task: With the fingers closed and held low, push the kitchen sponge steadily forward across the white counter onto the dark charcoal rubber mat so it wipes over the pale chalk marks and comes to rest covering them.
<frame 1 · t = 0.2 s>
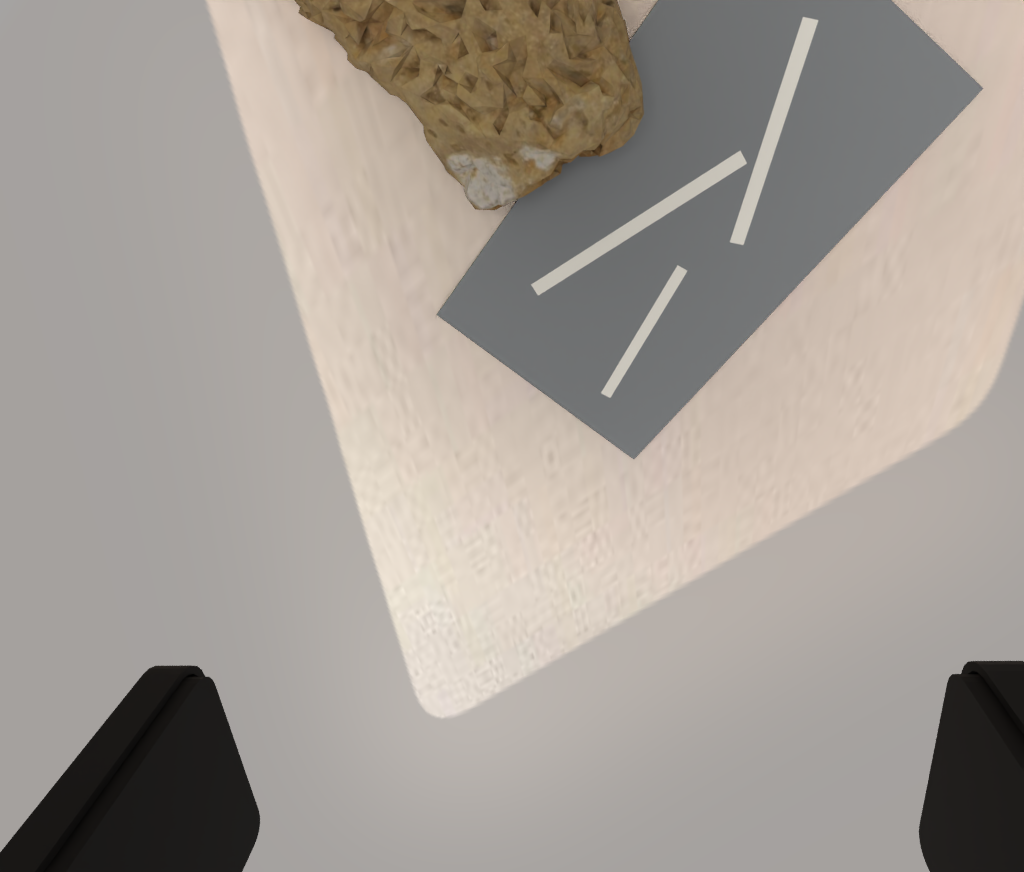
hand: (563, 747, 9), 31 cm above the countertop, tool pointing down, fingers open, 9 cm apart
mat: (682, 212, 35), on the countertop
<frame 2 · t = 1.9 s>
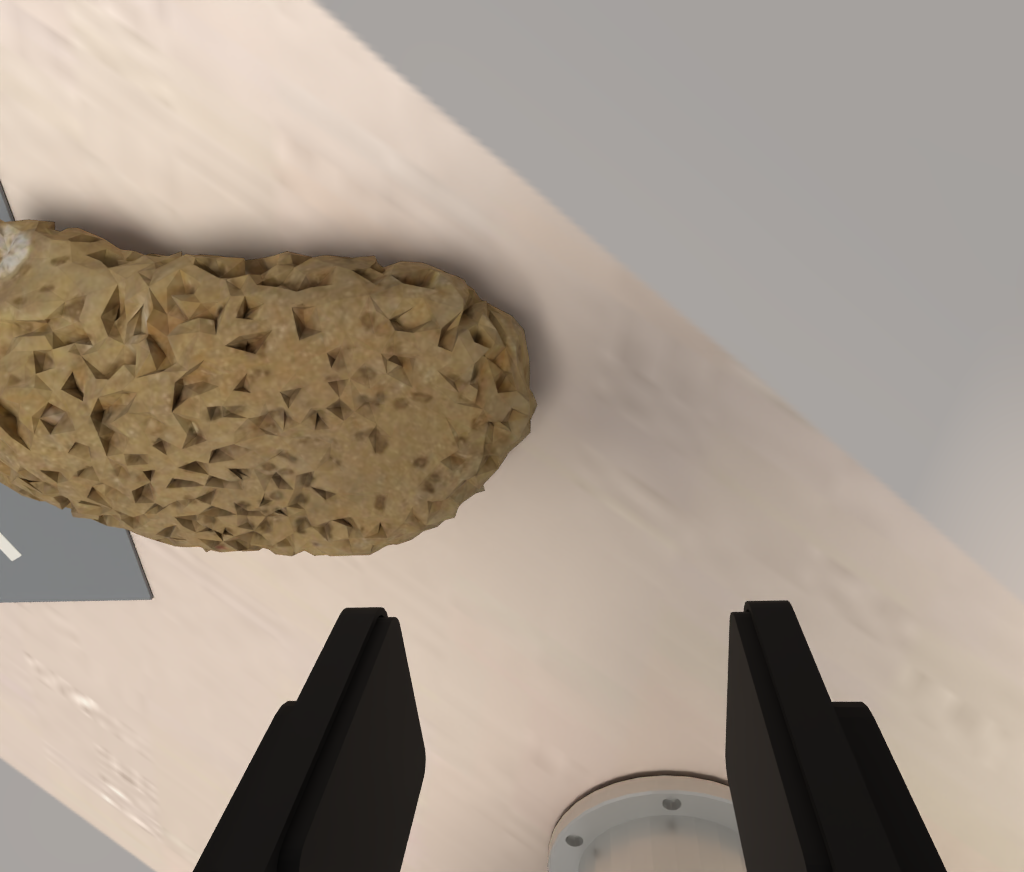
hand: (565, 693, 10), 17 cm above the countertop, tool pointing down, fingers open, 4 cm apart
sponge: (271, 360, 27), on the countertop, touching mat
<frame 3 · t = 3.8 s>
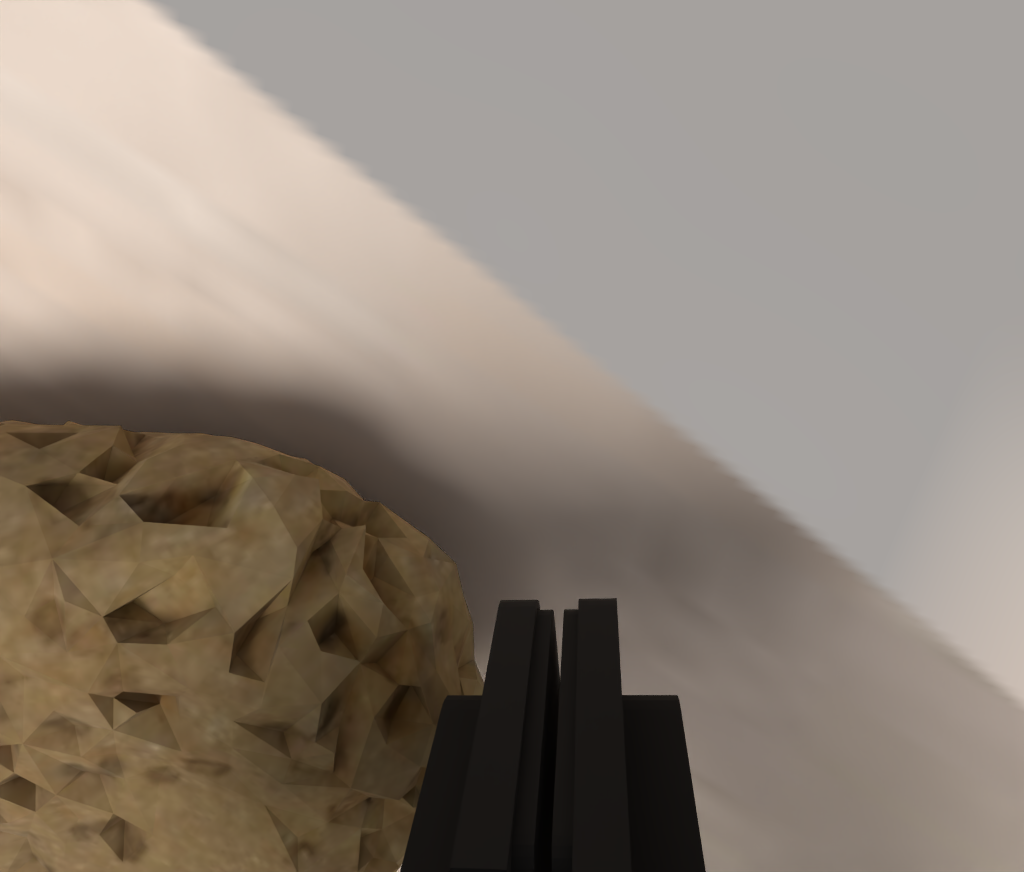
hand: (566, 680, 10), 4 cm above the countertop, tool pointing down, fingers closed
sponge: (20, 557, 15), on the countertop, touching gripper, mat
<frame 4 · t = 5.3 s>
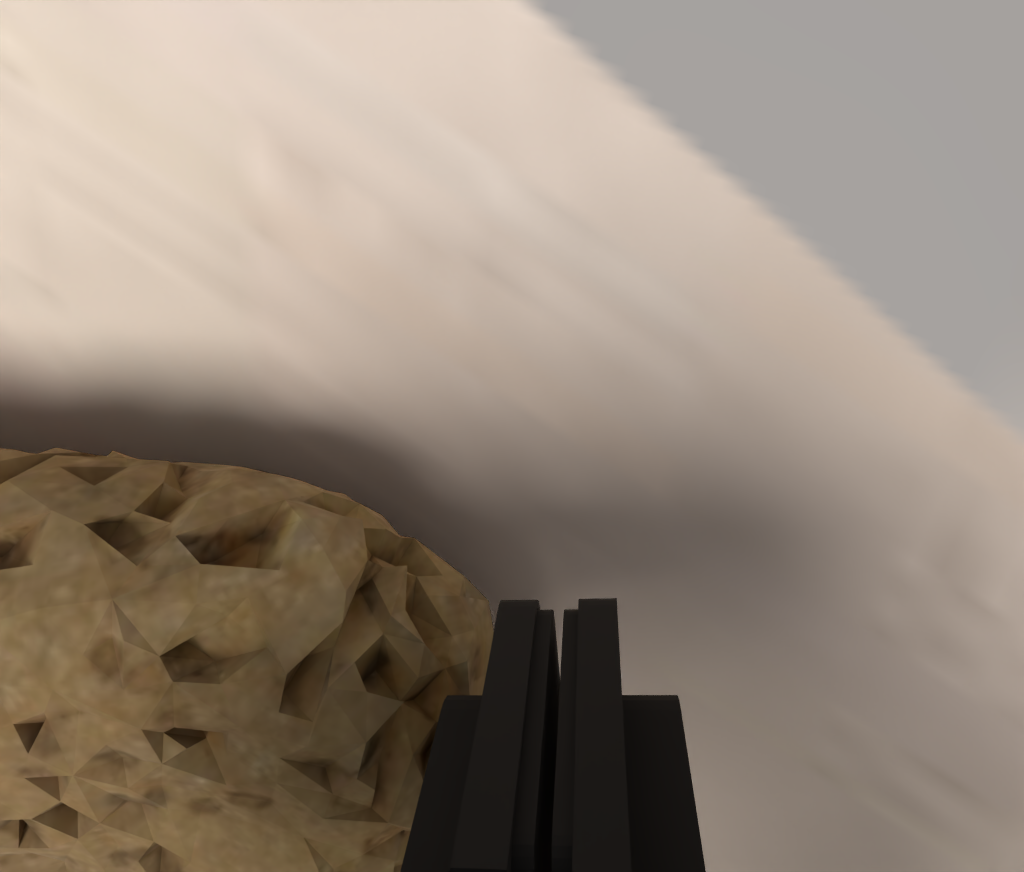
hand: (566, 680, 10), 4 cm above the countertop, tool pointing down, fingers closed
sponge: (44, 572, 15), on the countertop, touching gripper
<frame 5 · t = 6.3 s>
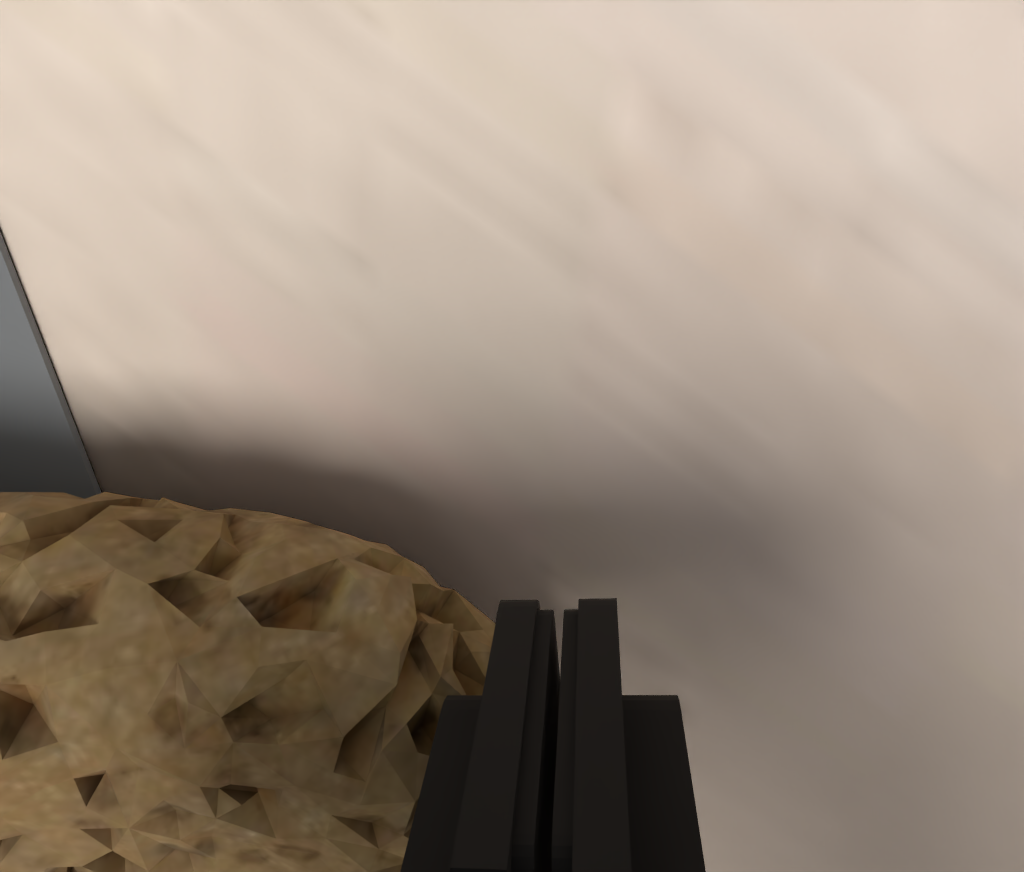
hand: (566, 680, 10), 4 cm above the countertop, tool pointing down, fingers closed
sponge: (72, 599, 16), on the countertop, touching gripper
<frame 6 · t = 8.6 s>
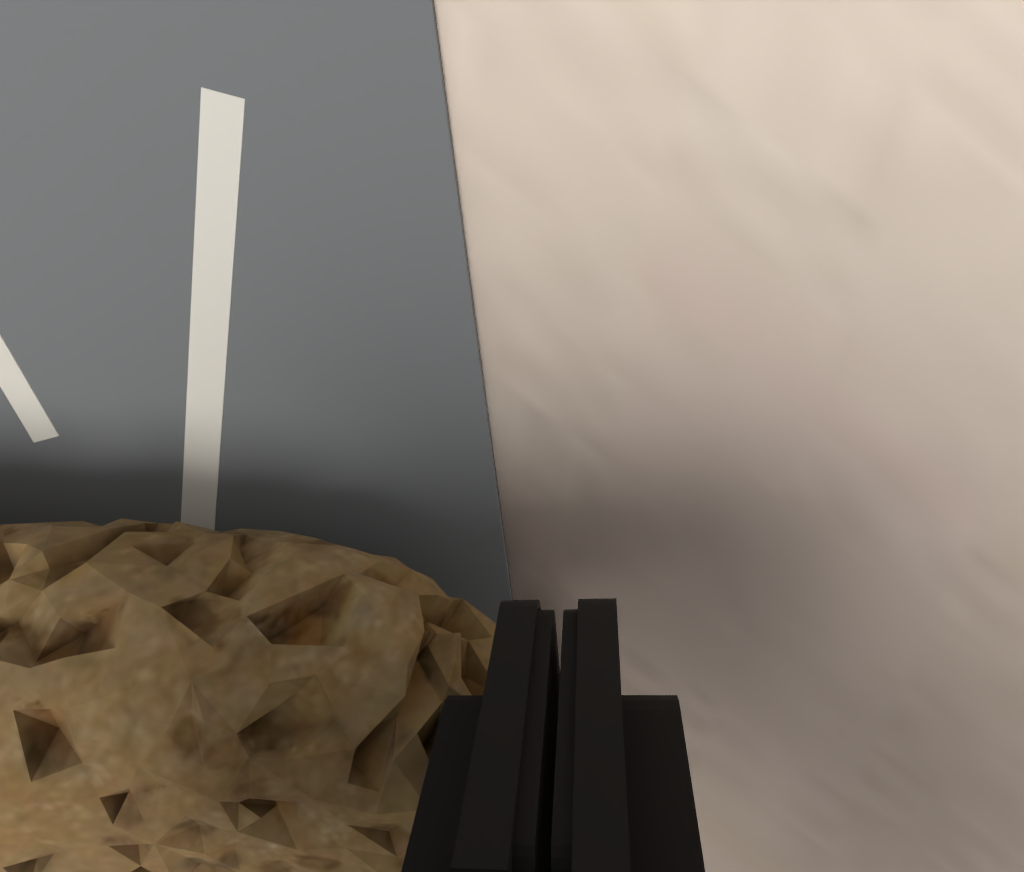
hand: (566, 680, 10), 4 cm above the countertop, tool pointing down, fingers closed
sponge: (99, 622, 16), resting on mat, touching gripper
mat: (167, 521, 15), on the countertop
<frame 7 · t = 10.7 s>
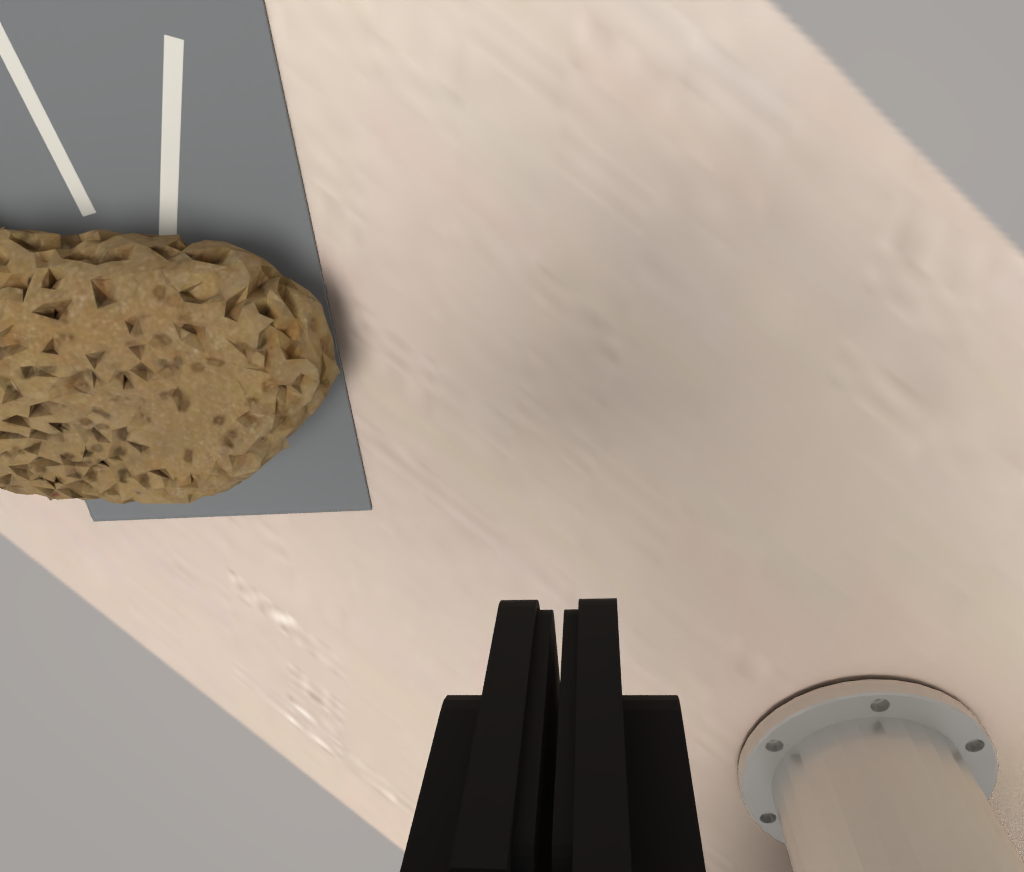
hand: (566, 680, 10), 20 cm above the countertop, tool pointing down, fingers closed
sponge: (115, 327, 30), resting on mat
mat: (151, 262, 29), on the countertop
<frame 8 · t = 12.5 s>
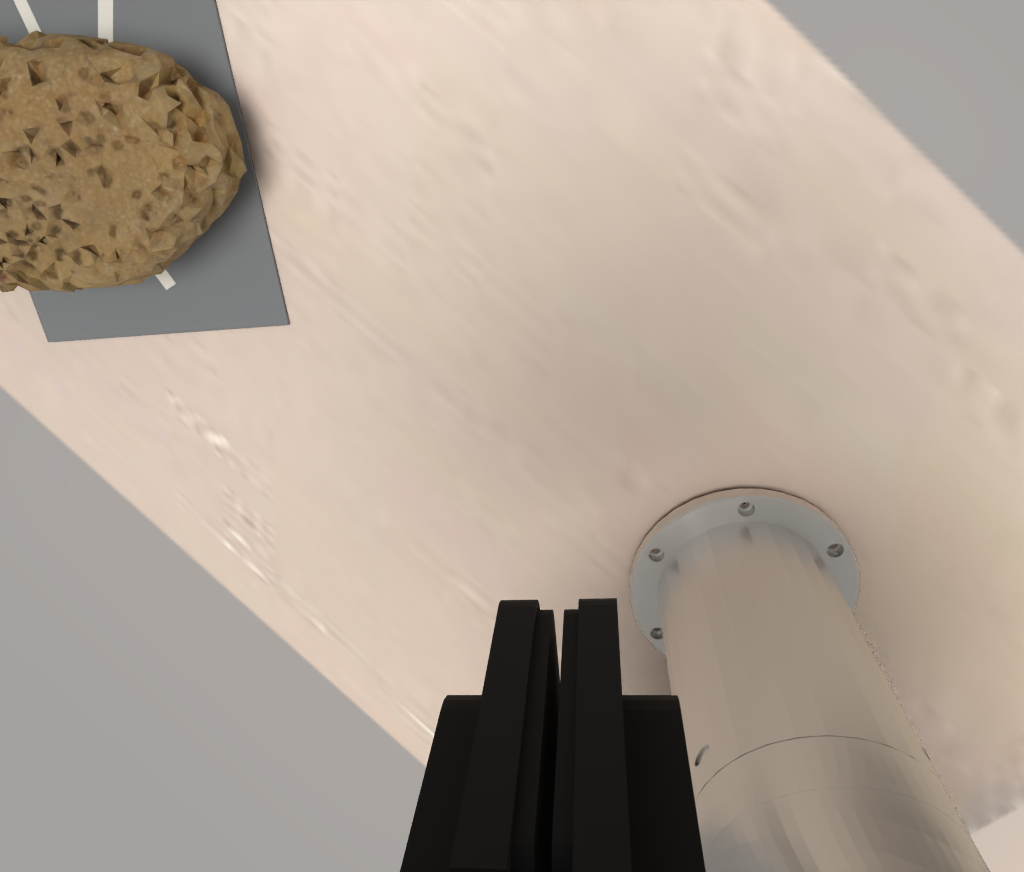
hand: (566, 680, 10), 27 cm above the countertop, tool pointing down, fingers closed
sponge: (63, 150, 35), resting on mat
mat: (92, 87, 33), on the countertop
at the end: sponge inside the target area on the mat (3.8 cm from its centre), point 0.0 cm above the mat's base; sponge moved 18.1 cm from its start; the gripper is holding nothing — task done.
